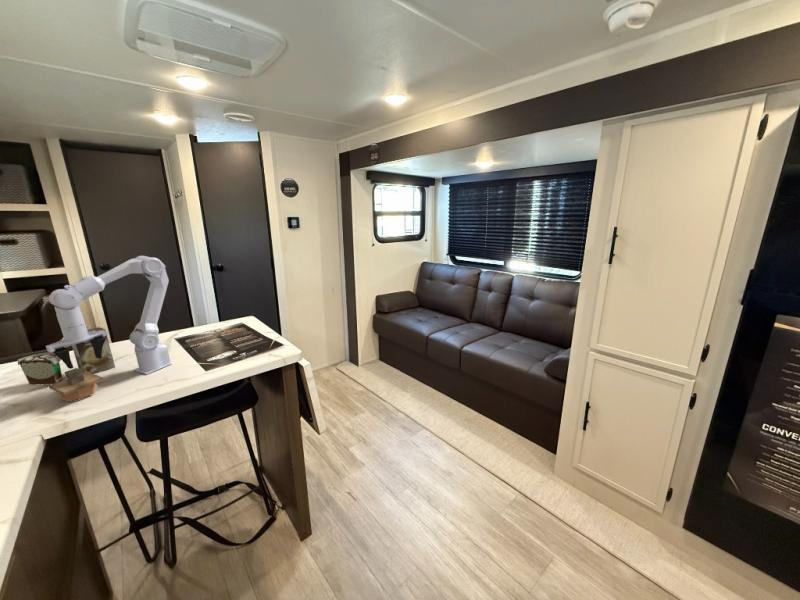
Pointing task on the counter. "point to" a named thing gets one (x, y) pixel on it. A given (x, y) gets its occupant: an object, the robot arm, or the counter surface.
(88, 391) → the bowl
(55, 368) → the food container
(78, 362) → the coffee box
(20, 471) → the counter surface
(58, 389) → the board
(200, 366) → the counter surface
